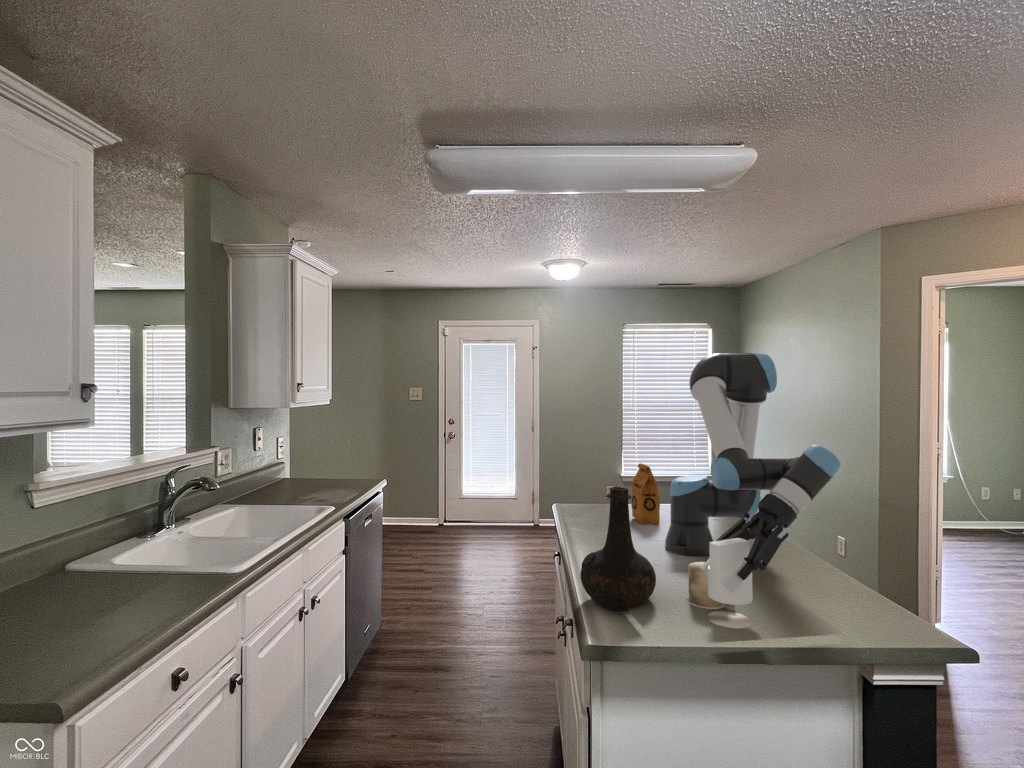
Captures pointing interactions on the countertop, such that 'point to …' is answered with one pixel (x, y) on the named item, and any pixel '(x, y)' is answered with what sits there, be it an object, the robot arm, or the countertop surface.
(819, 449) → the robot arm
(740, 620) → the board
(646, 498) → the coffee package
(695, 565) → the oak cylinder
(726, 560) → the cylinder with rectangular tab
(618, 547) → the glass bottle
